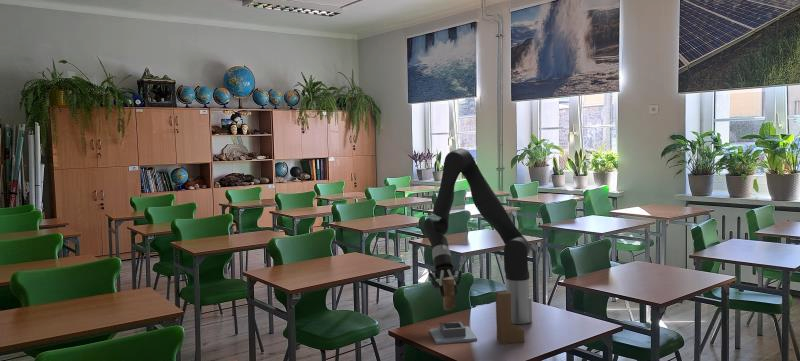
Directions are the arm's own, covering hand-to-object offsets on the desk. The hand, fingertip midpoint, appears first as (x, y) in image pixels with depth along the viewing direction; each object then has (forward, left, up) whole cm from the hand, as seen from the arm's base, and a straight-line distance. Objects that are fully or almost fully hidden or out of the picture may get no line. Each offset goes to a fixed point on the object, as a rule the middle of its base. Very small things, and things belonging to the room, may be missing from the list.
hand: (449, 295), depth 230 cm
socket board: (+1, +11, -13) cm, 17 cm away
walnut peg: (0, -1, -6) cm, 6 cm away
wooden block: (-18, +21, -13) cm, 30 cm away
